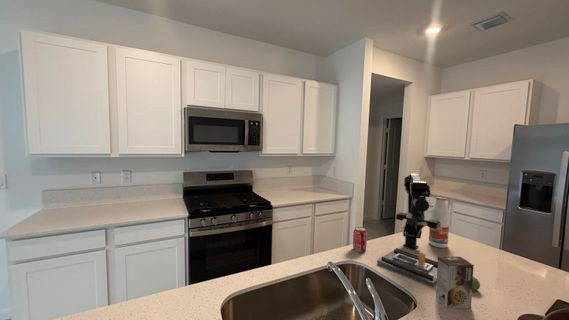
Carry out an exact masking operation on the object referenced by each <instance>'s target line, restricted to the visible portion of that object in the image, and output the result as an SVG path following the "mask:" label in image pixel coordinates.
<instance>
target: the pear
mask: <svg viewBox="0 0 569 320" xmlns="http://www.w3.org/2000/svg"><path fill="white" fill-rule="evenodd" d="M480 287H481V283H480V281H479V279H477V278H476V277H475V276H473V283H472V292H475V291H478V290H480Z"/></svg>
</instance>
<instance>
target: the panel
mask: <svg viewBox="0 0 569 320" xmlns="http://www.w3.org/2000/svg"><path fill="white" fill-rule="evenodd" d="M382 257H385V258H387V259H390V260H393V261H395V262H398V263H400V264H403V265H406V266H408V267H411V268H413V269H416V270H419V271H421V272H424V273H426V274H429V275H432V276H433V280H432V279H430V278H427V277H425V276H422V275H420V274H417V273H415V272H412V271H410V270H407V269H405V268H402V267H400V266H397V265H394V264H392V263H389V262H387V261H384V260H382V259H381V258H382ZM382 257H380V258H379V259H377V261H376V263H377V265H378V266H380V267H382V268H386V269H388V270H390V271H392V272H395V273H398V274H400V275H402V276H405V277H406V278H407V277H408V278H409V279H412V280H414V281H415V282H416V281H417V282H419V283H421V284H423V285H426V286H428V287H431V288H434V287H435V286H436V283H437V267H436V266H433V265H430V264H428V263H425V264H426V265H428V266H427V268H425V267H422V266H419V265H416V263H417V262H418V260H417V259H414V258H411V257H408V256H405V255H402V254H400V253H396V252H394V249H393V250H391V251H390V252H389V253H387V254H385V255H384V256H382Z"/></svg>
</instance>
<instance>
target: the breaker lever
mask: <svg viewBox="0 0 569 320" xmlns="http://www.w3.org/2000/svg"><path fill="white" fill-rule="evenodd" d="M418 255H419V259H418V262H417V263H416V265H419V266H422V267H425V268H427V266H428V265H426V264H425V258H426V253H424V252H419V253H418Z"/></svg>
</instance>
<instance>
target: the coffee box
mask: <svg viewBox="0 0 569 320" xmlns="http://www.w3.org/2000/svg"><path fill="white" fill-rule="evenodd" d="M437 262H438V266H437V283H436V285H435V286H436V287H435V299H437V300H438V302H440V303H441V305H442V306H444V307H445V308H446V309H471V308H472V297H473V291H472V283H473V277H474V264H472V263H471V262H470V261H468V260H467V259H465V258H463V257H462V256H438V257H437Z"/></svg>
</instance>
